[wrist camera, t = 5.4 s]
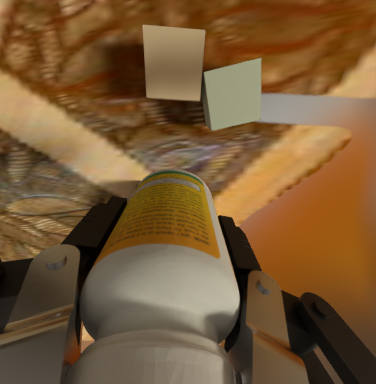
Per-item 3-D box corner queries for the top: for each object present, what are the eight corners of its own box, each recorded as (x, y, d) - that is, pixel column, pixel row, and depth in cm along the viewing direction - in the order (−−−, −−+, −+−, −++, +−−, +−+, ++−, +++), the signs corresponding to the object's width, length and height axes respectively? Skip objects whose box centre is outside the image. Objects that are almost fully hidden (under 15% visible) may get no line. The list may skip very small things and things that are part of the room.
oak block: (152, 45, 17) (142, 24, 13) (199, 48, 18) (205, 30, 13) (154, 99, 20) (146, 97, 15) (196, 101, 20) (199, 100, 16)
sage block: (199, 79, 19) (204, 72, 15) (242, 69, 19) (261, 57, 14) (205, 125, 21) (211, 130, 17) (244, 116, 21) (260, 119, 17)
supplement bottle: (224, 209, 12) (317, 458, 4) (165, 240, 13) (136, 473, 5) (183, 148, 10) (184, 429, 1) (117, 192, 11) (-82, 471, 3)
